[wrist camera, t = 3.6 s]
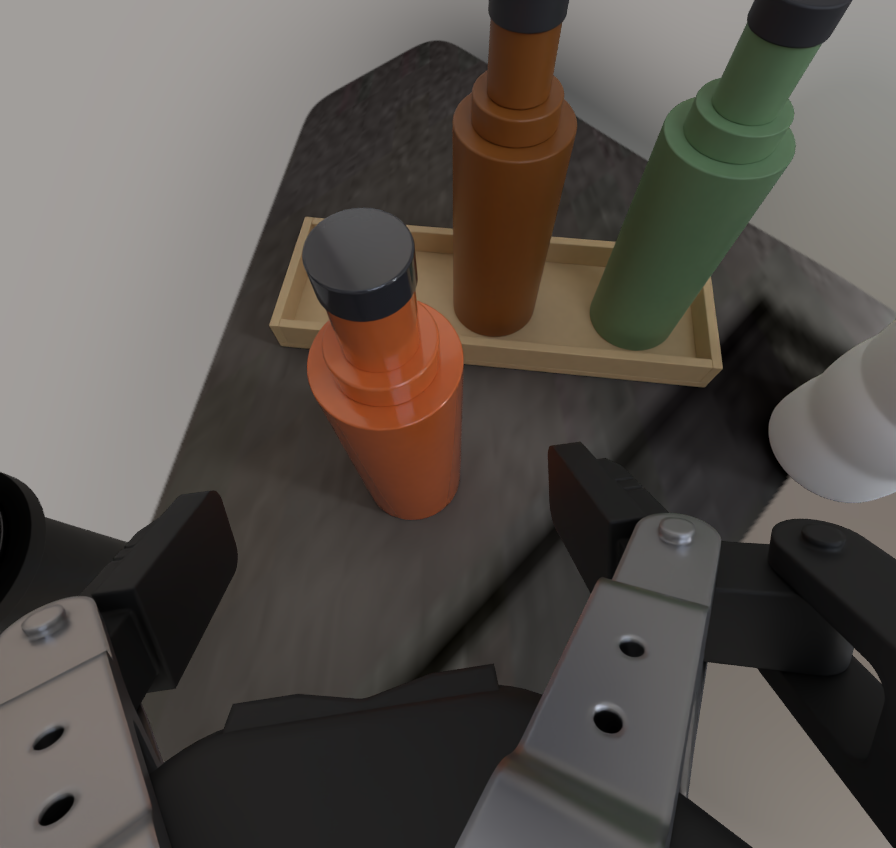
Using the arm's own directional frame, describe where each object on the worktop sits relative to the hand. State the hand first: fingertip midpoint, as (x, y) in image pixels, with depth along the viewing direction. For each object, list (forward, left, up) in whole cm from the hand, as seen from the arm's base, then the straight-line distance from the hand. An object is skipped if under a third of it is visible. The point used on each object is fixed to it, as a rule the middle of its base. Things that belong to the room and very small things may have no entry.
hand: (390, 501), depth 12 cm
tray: (+12, +13, -15) cm, 23 cm away
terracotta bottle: (+2, +5, -15) cm, 16 cm away
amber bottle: (+12, +13, -15) cm, 23 cm away
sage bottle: (+19, +8, -15) cm, 26 cm away
